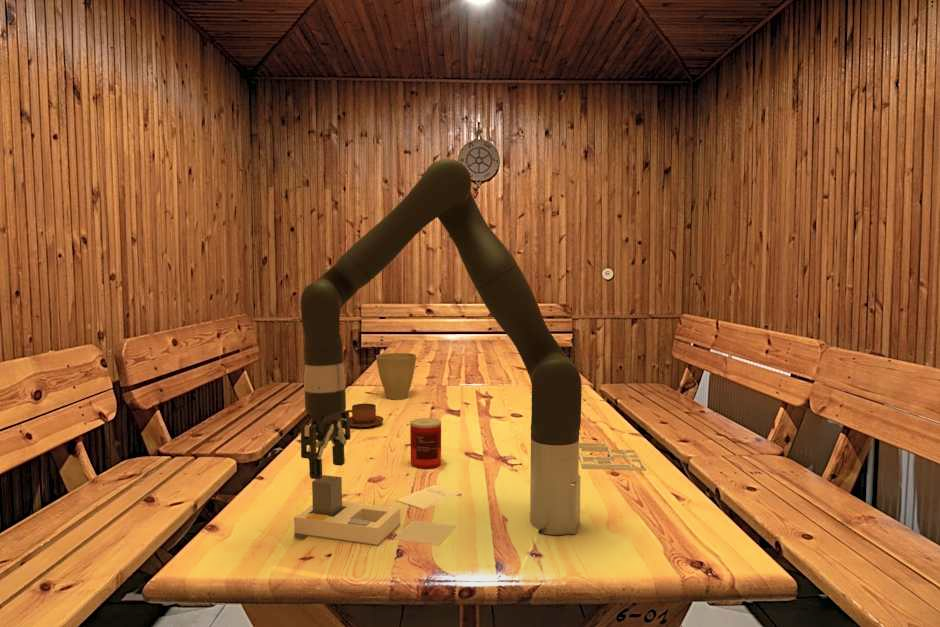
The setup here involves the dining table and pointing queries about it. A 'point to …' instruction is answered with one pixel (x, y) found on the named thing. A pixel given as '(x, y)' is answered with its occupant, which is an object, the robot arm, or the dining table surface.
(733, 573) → the dining table surface
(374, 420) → the cup and saucer
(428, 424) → the canned food
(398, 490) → the dining table surface
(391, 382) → the plant pot
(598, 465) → the floor plan model
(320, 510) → the plug
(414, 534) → the mat
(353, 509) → the socket block
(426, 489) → the external hard drive
